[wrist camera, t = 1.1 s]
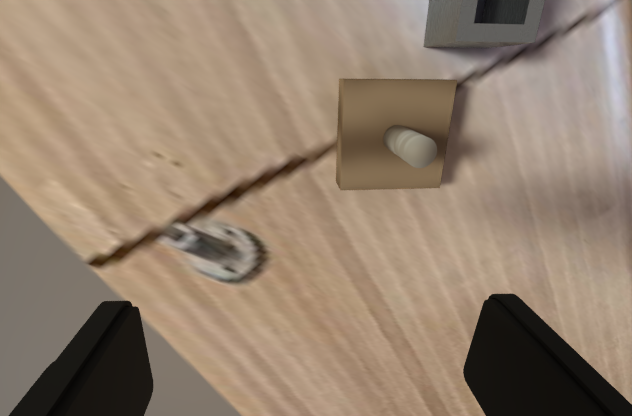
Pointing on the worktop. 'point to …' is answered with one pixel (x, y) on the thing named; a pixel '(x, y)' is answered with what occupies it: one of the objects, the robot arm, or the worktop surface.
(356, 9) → the worktop surface
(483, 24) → the gray hollow cube
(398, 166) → the shaft block
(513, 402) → the robot arm
